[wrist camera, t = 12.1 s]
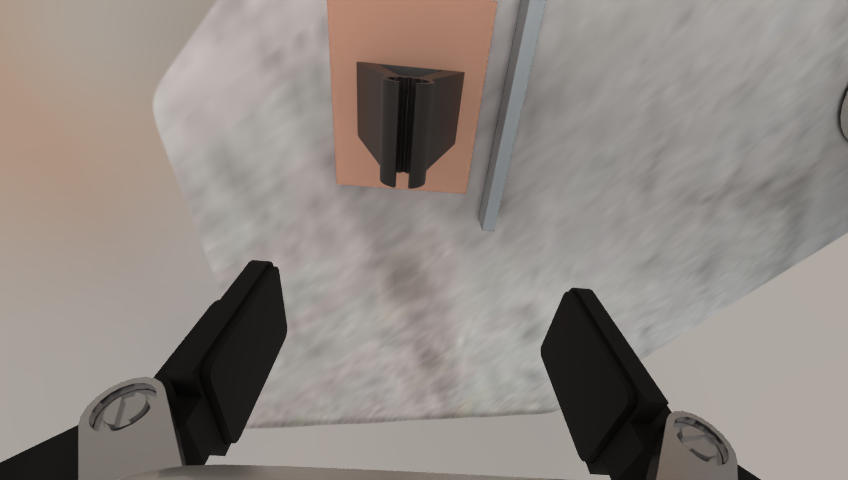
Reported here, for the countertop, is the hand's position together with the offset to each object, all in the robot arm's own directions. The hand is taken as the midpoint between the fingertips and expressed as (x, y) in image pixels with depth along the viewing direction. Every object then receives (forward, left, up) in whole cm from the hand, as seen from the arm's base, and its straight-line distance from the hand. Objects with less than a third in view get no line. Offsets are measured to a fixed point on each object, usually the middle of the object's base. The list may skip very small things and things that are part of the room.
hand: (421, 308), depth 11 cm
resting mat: (+1, -3, -23) cm, 23 cm away
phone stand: (+1, -3, -23) cm, 23 cm away
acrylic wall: (-8, -3, -23) cm, 25 cm away
